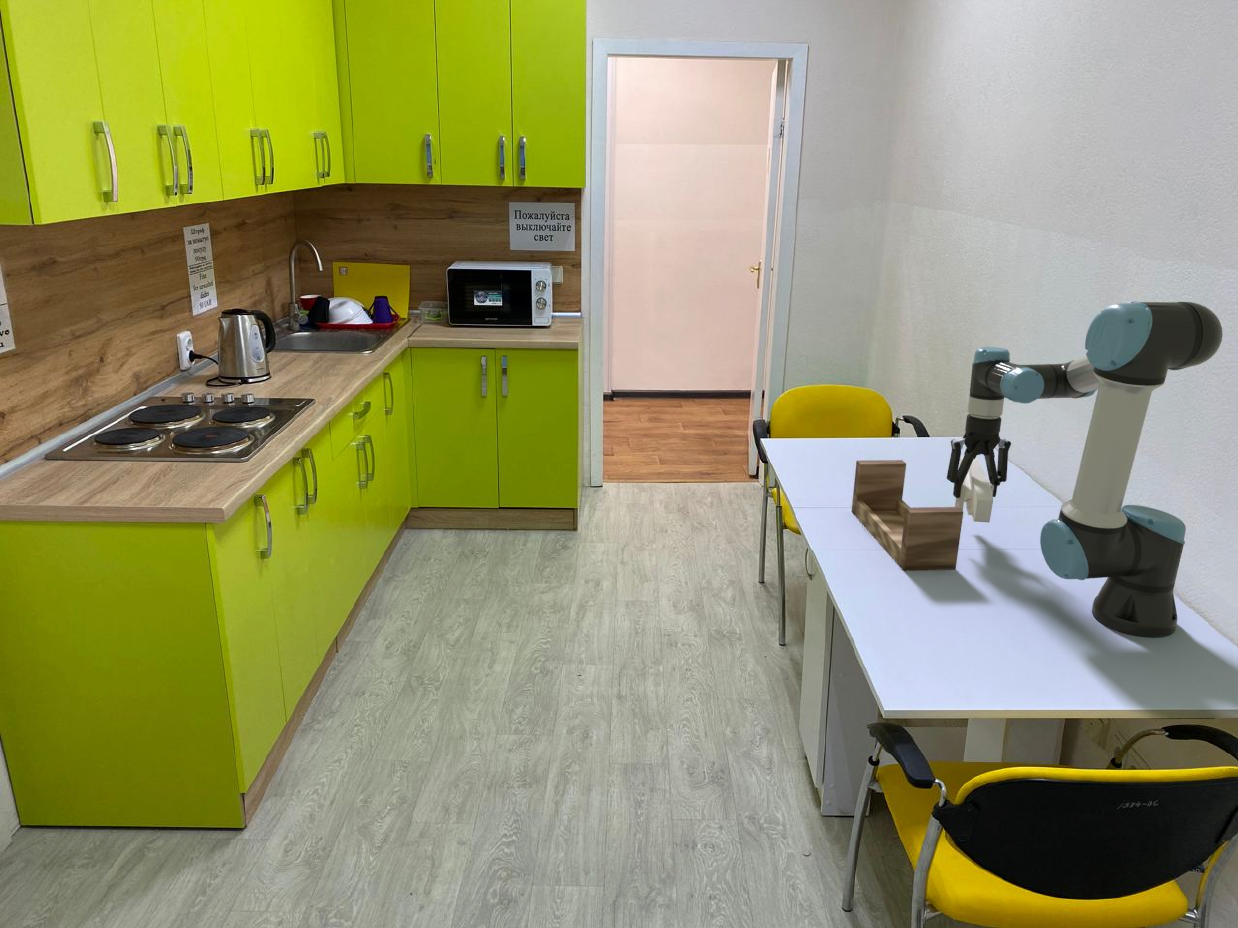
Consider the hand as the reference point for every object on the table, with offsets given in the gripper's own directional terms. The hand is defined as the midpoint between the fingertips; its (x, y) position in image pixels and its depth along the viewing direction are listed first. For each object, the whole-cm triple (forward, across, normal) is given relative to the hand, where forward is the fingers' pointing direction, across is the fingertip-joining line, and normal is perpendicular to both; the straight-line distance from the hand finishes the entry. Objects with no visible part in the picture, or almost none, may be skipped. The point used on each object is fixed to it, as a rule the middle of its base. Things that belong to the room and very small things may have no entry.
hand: (972, 509), depth 226 cm
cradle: (+9, +15, -5) cm, 18 cm away
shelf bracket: (+1, -1, -1) cm, 2 cm away
